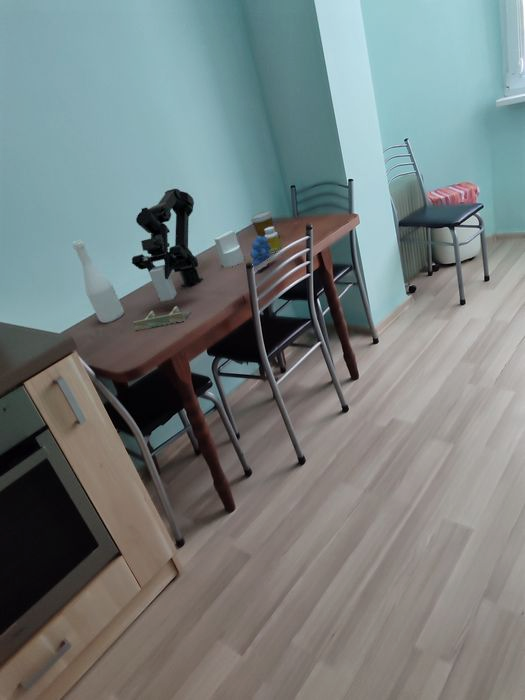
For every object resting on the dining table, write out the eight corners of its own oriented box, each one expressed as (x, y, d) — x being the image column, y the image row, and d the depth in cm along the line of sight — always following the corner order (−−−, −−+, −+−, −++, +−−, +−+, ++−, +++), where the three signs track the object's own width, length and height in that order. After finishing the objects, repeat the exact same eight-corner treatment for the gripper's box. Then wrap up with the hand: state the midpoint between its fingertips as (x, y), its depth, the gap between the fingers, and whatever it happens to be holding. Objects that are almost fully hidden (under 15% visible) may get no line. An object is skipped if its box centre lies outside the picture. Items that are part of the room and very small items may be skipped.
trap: (144, 321, 168) (140, 313, 167) (191, 311, 163) (188, 303, 162) (136, 330, 163) (132, 322, 161) (184, 321, 158) (181, 313, 156)
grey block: (165, 296, 172) (153, 267, 167) (176, 293, 171) (165, 264, 166) (161, 301, 168) (148, 272, 163) (172, 298, 167) (160, 269, 162)
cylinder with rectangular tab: (231, 268, 193) (222, 239, 188) (218, 266, 200) (209, 239, 194) (248, 259, 198) (239, 230, 192) (235, 258, 204) (226, 230, 199)
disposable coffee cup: (282, 236, 213) (275, 209, 207) (271, 244, 206) (264, 217, 201) (264, 238, 218) (257, 212, 213) (253, 246, 212) (245, 219, 206)
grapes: (264, 261, 189) (256, 232, 183) (278, 260, 185) (270, 230, 179) (247, 274, 181) (238, 243, 176) (261, 273, 177) (252, 242, 172)
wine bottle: (99, 319, 184) (62, 244, 171) (122, 309, 187) (88, 234, 173) (101, 326, 176) (63, 248, 163) (126, 315, 179) (91, 238, 165)
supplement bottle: (280, 252, 193) (274, 228, 189) (268, 255, 195) (261, 231, 191) (282, 247, 198) (276, 224, 194) (270, 250, 200) (263, 227, 195)
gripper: (122, 234, 165) (122, 276, 160) (172, 221, 159) (173, 265, 155) (140, 248, 175) (140, 288, 171) (187, 237, 170) (188, 278, 165)
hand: (160, 280), depth 165 cm, fingers closed on grey block, 4 cm apart
